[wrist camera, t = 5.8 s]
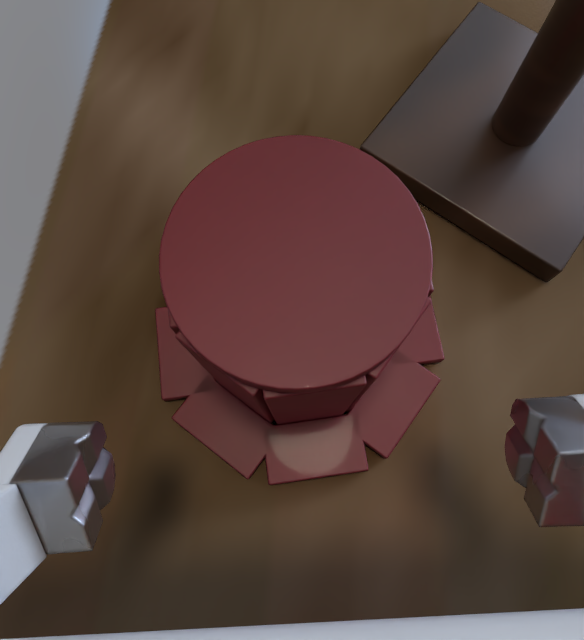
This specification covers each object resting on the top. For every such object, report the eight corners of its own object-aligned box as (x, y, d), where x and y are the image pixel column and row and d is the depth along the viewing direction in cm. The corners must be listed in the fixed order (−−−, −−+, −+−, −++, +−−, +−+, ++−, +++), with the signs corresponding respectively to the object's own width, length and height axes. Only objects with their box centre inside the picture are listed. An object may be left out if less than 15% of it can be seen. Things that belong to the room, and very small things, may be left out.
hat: (104, 363, 20) (-22, 296, 12) (272, 168, 22) (257, 4, 14) (328, 542, 18) (349, 599, 10) (486, 309, 20) (603, 210, 12)
